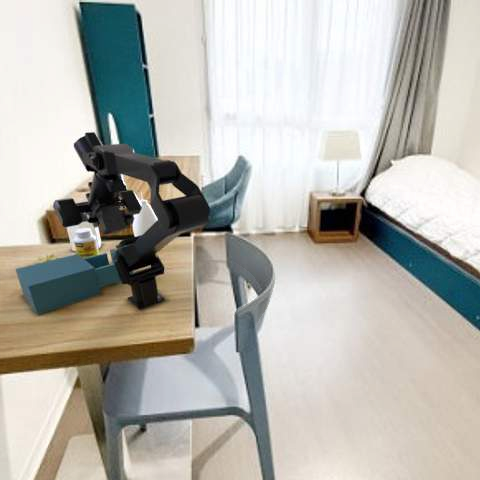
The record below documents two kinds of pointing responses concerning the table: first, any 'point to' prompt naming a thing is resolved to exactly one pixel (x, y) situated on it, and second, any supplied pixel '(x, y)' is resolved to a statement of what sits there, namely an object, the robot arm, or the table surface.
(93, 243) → the supplement bottle
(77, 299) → the cabinet
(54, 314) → the table surface
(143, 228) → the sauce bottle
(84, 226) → the jar
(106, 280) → the drawer
